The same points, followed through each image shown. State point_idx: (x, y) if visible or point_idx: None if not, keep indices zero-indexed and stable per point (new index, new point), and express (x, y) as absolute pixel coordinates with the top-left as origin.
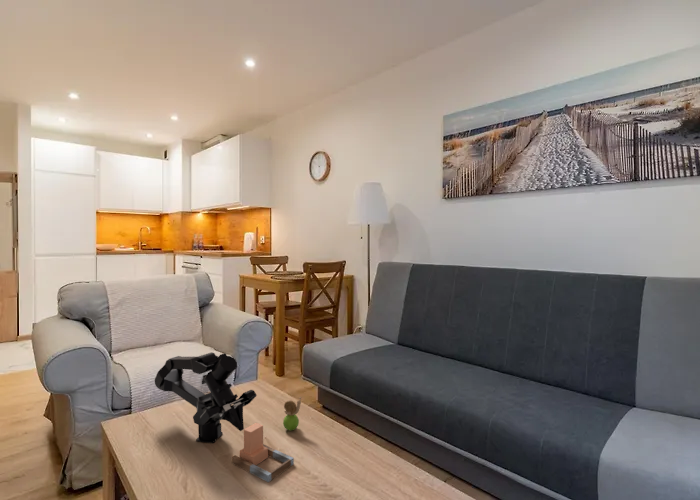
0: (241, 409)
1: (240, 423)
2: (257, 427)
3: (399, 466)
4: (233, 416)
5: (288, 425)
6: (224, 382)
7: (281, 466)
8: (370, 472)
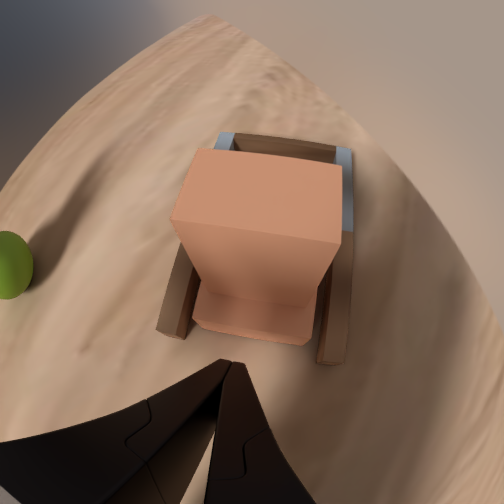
0: (79, 447)
1: (230, 387)
2: (247, 160)
3: (163, 41)
4: (295, 476)
5: (24, 257)
6: None
7: (284, 139)
8: (193, 51)
